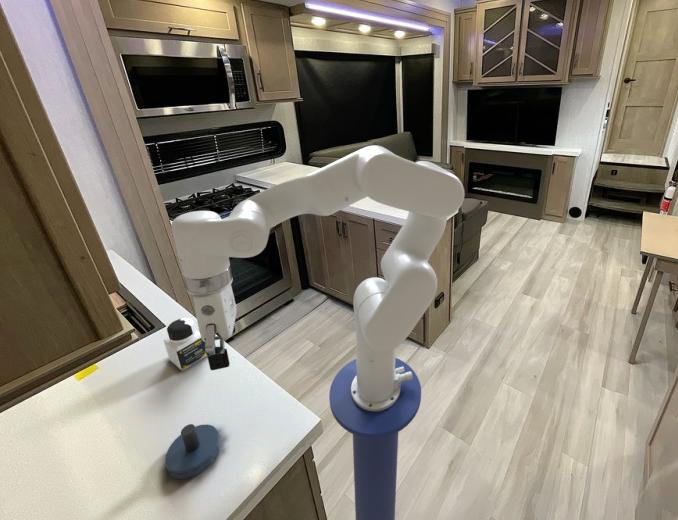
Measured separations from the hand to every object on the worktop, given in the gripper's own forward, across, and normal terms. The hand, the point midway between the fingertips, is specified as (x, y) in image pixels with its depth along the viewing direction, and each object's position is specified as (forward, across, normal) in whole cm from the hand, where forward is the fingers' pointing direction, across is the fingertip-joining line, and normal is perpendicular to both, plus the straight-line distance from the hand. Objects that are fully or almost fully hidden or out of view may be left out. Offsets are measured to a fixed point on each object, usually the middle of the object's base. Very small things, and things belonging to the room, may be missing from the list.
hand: (224, 349), depth 65 cm
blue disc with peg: (+22, -4, +8) cm, 24 cm away
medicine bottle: (+22, +26, +15) cm, 37 cm away
